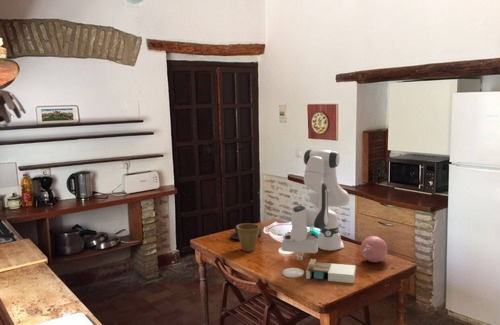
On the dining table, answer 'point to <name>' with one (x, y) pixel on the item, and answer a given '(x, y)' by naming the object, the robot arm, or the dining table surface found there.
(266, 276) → the dining table surface
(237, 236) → the casserole
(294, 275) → the plate
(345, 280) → the board
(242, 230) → the plant pot
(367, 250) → the pink round piece
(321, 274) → the block
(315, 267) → the lid
